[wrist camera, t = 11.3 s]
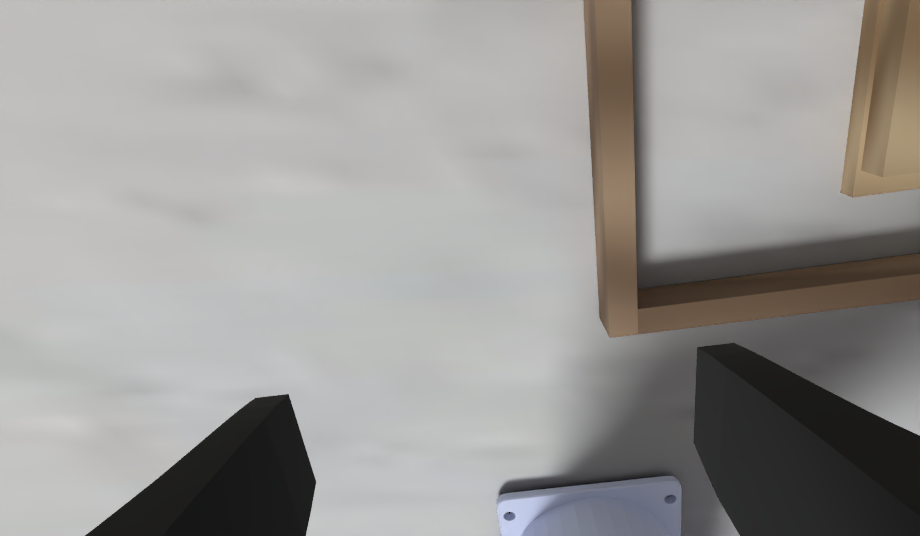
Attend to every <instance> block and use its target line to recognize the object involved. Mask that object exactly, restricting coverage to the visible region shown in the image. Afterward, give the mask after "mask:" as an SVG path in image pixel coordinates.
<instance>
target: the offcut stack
mask: <svg viewBox="0 0 920 536" xmlns="http://www.w3.org/2000/svg"><path fill="white" fill-rule="evenodd" d="M917 188H920V0H865V4H864V12H863V20H862V28H861V36H860V44H859V51H858V59H857V67H856V75H855V83H854V91H853V99H852V107H851V115H850V123H849V131H848V139H847V147H846V155H845V163H844V170H843V178H842V186H841V193H843V194H846V195H848V196H851V197H859V196H866V195H873V194H881V193H888V192H895V191H903V190H910V189H917Z"/></svg>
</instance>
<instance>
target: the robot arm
mask: <svg viewBox="0 0 920 536" xmlns="http://www.w3.org/2000/svg"><path fill="white" fill-rule="evenodd" d="M694 444H695V446H696V449H697V451H698V453H699V456H700V458H701V461H702V463H703V465H704V468H705V470H706V472H707V475H708V477H709V479H710V481H711V483H712V486H713V488H714V490H715V492H716V494H717V497H718V498H719V500H720V502H721V504H722V505H723V507H724V509H725V511H726V512H727V514H728V516H729V517H730V519H731V521H732V523H733V524H734V526H735V528H736V529H737V531H738V533H739V534H740V536H920V436H919V435H917V434H915V433H912V432H910V431H908V430H906V429H904V428H902V427H899V426H897V425H895V424H893V423H891V422H889V421H887V420H885V419H883V418H881V417H879V416H877V415H875V414H872V413H870V412H868V411H866V410H864V409H862V408H860V407H858V406H856V405H854V404H852V403H850V402H848V401H846V400H844V399H843V398H841V397H839V396H837V395H835V394H833V393H831V392H829V391H827V390H825V389H823V388H821V387H819V386H817V385H815V384H814V383H812V382H810V381H808V380H806V379H804V378H802V377H800V376H798V375H796V374H795V373H793V372H791V371H789V370H787V369H785V368H783V367H781V366H779V365H777V364H776V363H774V362H772V361H770V360H768V359H766V358H764V357H762V356H760V355H758V354H756V353H754V352H752V351H750V350H748V349H746V348H744V347H741V346H739V345H737V344H735V343H730V344H722V345H713V346H704V347H697V370H696V396H695V422H694ZM315 485H316V480H315V477H314V474H313V471H312V468H311V464H310V461H309V458H308V455H307V452H306V449H305V445H304V442H303V439H302V436H301V433H300V429H299V426H298V423H297V420H296V417H295V413H294V410H293V407H292V404H291V401H290V398H289V394H286V395H278V396H269V397H260V398H255V399H254V400H252V401H251V402H249V403H248V404H247V405H245V406H244V407H243V408H241V409H240V410H239V411H238V412H236V413H235V414H234V415H233V416H232V417H230V418H229V419H228V420H227V421H226V422H224V423H223V424H222V425H221V426H220V427H218V428H217V429H216V430H215V431H214V432H212V433H211V434H210V435H209V436H208V437H207V438H205V439H204V440H203V441H202V442H201V443H200V444H198V445H197V446H196V447H195V448H194V449H192V450H191V451H190V452H189V453H188V454H186V455H185V456H184V457H183V458H182V459H181V460H179V461H178V462H177V463H176V464H175V465H173V466H172V467H171V468H170V469H169V470H167V471H166V472H165V473H164V474H163V475H162V476H160V477H159V478H158V479H157V480H155V481H154V482H153V483H152V484H150V485H149V486H148V487H147V488H145V489H144V490H143V491H142V492H140V493H139V494H138V495H137V496H135V497H134V498H133V499H131V500H130V501H129V502H128V503H126V504H125V505H124V506H123V507H121V508H120V509H119V510H118V511H116V512H115V513H114V514H112V515H111V516H110V517H109V518H107V519H106V520H105V521H104V522H102V523H101V524H100V525H99V526H97V527H96V528H95V529H93V530H92V531H91V532H89V533H88V534H87V535H85V536H306V531H307V527H308V522H309V517H310V512H311V507H312V501H313V496H314V490H315ZM668 495H671V496H668ZM666 496H668V497H666ZM681 498H682V488H681V485H680V483H679V481H678V479H677V478H676V477H673V476H661V477H651V478H642V479H633V480H624V481H614V482H605V483H596V484H587V485H577V486H568V487H559V488H550V489H540V490H531V491H522V492H512V493H505V494H502V495H500V496H499V497H498V498H497V502H496V504H497V512H498V519H499V525H500V531H501V536H681ZM507 512H513V513H510V514H509V513H507Z"/></svg>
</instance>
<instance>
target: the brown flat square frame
mask: <svg viewBox="0 0 920 536" xmlns="http://www.w3.org/2000/svg"><path fill="white" fill-rule="evenodd" d="M584 20H585V40H586V59H587V79H588V98H589V118H590V138H591V157H592V177H593V197H594V216H595V236H596V255H597V275H598V295H599V314H600V319H601V321H602V323H603V325H604V327H605V329H606V331H607V333H608V335H609V337H610V338H611V337H620V336H628V335H636V334H644V333H652V332H660V331H668V330H676V329H684V328H692V327H700V326H708V325H717V324H725V323H733V322H741V321H749V320H757V319H765V318H773V317H781V316H789V315H797V314H806V313H814V312H822V311H830V310H838V309H846V308H854V307H862V306H870V305H878V304H886V303H895V302H903V301H911V300H919V299H920V253H917V254H910V255H902V256H894V257H886V258H879V259H871V260H863V261H855V262H847V263H840V264H832V265H824V266H816V267H809V268H801V269H793V270H785V271H777V272H770V273H762V274H754V275H746V276H738V277H731V278H723V279H715V280H707V281H700V282H692V283H684V284H676V285H668V286H661V287H653V288H645V289H637V259H636V209H635V160H634V110H633V60H632V11H631V0H584Z"/></svg>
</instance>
